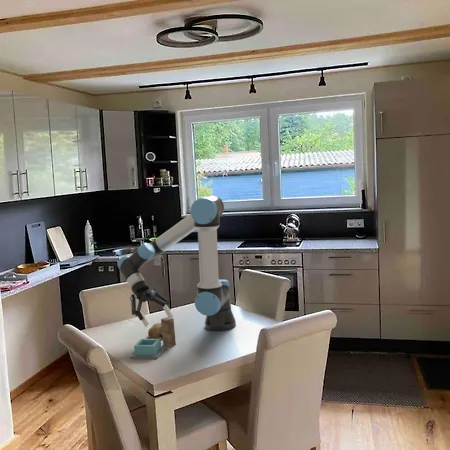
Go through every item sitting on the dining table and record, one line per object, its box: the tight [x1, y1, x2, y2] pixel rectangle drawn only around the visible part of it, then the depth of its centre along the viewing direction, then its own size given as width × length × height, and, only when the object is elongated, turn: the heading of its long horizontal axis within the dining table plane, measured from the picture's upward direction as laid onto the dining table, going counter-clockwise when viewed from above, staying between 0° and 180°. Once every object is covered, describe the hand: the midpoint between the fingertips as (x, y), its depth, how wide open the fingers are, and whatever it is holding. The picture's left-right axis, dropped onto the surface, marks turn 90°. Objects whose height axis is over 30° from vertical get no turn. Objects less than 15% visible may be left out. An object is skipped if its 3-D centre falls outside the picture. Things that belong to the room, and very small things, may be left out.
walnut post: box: [160, 316, 177, 348], centre depth 233 cm, size 4×4×12 cm
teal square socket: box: [129, 338, 167, 360], centre depth 223 cm, size 12×12×5 cm
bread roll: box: [147, 322, 163, 340], centre depth 246 cm, size 10×10×8 cm
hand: (159, 321), depth 235 cm, fingers open, 13 cm apart
